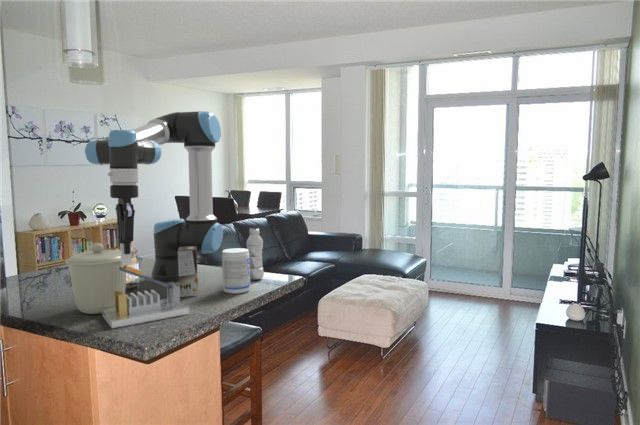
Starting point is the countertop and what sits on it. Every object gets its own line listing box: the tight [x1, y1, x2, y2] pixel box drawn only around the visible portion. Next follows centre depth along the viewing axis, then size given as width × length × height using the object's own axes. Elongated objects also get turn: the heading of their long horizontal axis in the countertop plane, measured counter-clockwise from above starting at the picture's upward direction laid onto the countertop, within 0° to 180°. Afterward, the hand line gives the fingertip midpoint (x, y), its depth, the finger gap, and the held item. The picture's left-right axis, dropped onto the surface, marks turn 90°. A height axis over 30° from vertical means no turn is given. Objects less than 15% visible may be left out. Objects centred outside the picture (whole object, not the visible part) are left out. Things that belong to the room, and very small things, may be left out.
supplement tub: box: [221, 247, 251, 295], centre depth 173 cm, size 10×10×15 cm
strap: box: [119, 265, 176, 290], centre depth 147 cm, size 3×18×2 cm, turn 124°
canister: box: [64, 242, 127, 315], centre depth 152 cm, size 18×18×21 cm
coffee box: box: [178, 246, 199, 298], centre depth 171 cm, size 9×6×16 cm
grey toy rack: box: [101, 282, 190, 329], centre depth 147 cm, size 14×22×8 cm, turn 124°
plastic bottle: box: [246, 227, 265, 281], centre depth 189 cm, size 6×7×20 cm
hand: (126, 264), depth 143 cm, fingers closed
